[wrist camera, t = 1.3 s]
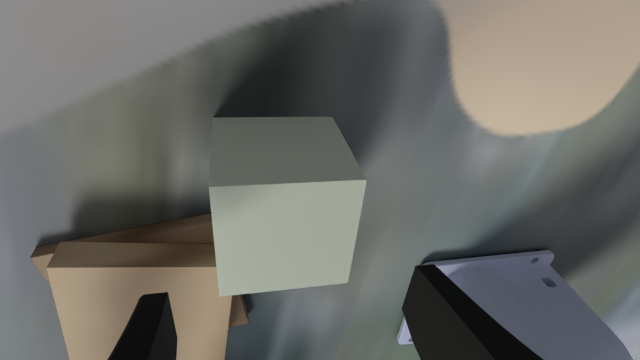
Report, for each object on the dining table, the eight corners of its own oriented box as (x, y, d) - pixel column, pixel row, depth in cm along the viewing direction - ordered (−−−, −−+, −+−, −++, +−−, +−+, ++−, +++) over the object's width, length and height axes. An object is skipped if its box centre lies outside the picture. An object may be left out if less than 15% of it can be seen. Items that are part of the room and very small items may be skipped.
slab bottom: (215, 201, 19) (214, 221, 17) (247, 302, 23) (248, 323, 22) (42, 234, 18) (29, 258, 16) (112, 332, 22) (106, 356, 21)
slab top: (234, 244, 18) (235, 267, 17) (224, 336, 22) (224, 360, 21) (59, 241, 16) (46, 267, 15) (81, 344, 20) (72, 371, 19)
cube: (331, 115, 16) (367, 179, 12) (321, 206, 19) (347, 282, 15) (212, 116, 15) (208, 187, 11) (220, 212, 18) (219, 296, 14)
